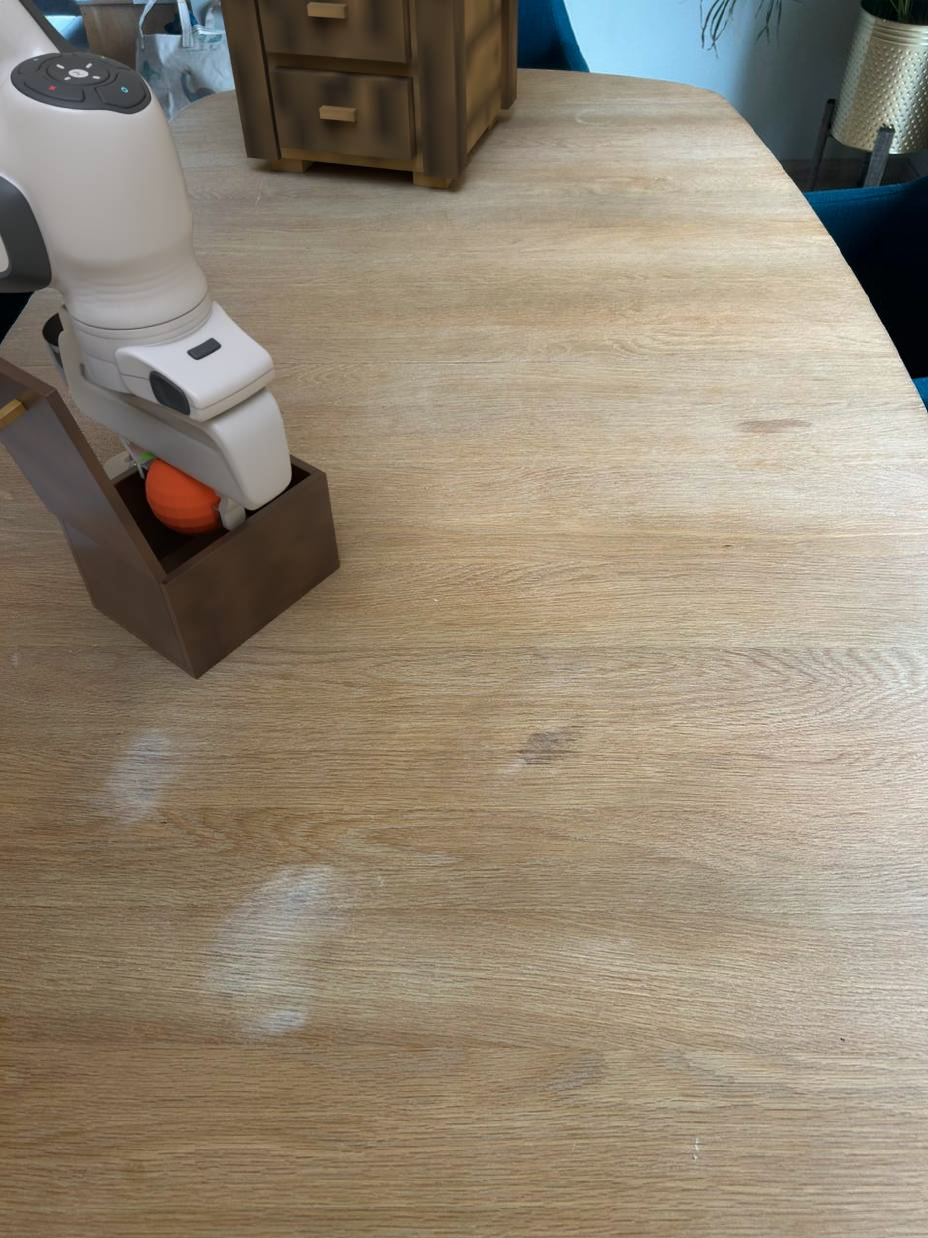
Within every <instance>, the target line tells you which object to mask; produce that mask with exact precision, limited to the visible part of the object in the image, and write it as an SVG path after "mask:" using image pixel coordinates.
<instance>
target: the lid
mask: <svg viewBox="0 0 928 1238" xmlns="http://www.w3.org/2000/svg"><path fill="white" fill-rule="evenodd" d="M0 443H1V444H2V445H3V447H4V448H5V450H6V451H7V453H8V455H10V457H11V459H12V460H13V462H14V464H16V466H17V467H18V469H19V470H20V471H21V473H22V474H23V476H24V478H25V479H26V480H27V482H28V483H29V484H30V487H31V488H32V490H34V492H35V493H36V495H37V496H38V498H39V500H40V501H41V502H42V503H43V505H44V506H45V508H46V509H47V511H48V512H49V513H50V514H52V515H54V516H55V517H56V518H57V517H58V518H60V519H61V520H63V521H64V522H66V523H67V524H69V525H70V526H72V527H73V528H75V529H76V530H78V531H79V532H81V533H82V534H84V535H86V536H87V537H89V538H90V539H92V540H93V541H95V542H96V543H98V544H99V545H101V546H102V547H104V548H105V549H107V550H108V551H110V552H111V553H113V554H114V555H116V556H117V557H119V558H120V559H122V560H123V561H125V562H126V563H128V564H129V565H131V566H132V567H134V568H135V569H137V570H139V571H140V572H142V573H143V574H145V575H146V576H148V577H149V578H151V579H152V580H154V581H155V582H157V583H158V584H160V583H162V582H163V581H164V580H165V579H166V578H167V575H166V573H165V571H164V570H163V568H162V566H161V565H160V563H159V561H158V560H157V558H156V556H155V554H154V553H153V551H152V549H151V548H150V546H149V544H148V543H147V541H146V539H145V538H144V536H143V534H142V533H141V531H140V529H139V527H138V526H137V524H136V522H135V521H134V519H133V517H132V516H131V514H130V512H129V511H128V509H127V507H126V506H125V504H124V502H123V500H122V499H121V497H120V495H119V494H118V492H117V490H116V489H115V487H114V485H113V484H112V482H111V480H110V479H109V477H108V475H107V473H106V472H105V470H104V468H103V465H102V462H100V460H99V458H98V456H97V455H96V453H95V452H94V450H93V448H92V446H91V444H90V443H89V441H88V440H87V438H86V437H85V435H84V433H83V431H82V430H81V428H80V426H79V424H78V423H77V421H76V419H75V418H74V416H73V415H72V413H71V411H70V410H69V408H68V406H67V404H66V403H65V401H64V400H63V397H62V396H61V393H59V391H58V389H57V388H56V387H54V386H52V385H51V384H49V383H47V382H45V381H44V380H41V379H39V378H38V377H36V376H34V375H33V374H31V373H30V372H27V371H26V370H24V369H22V368H21V367H19V366H17V365H15V364H14V363H12V362H9V361H8V360H6V359H5V358H3V357H1V356H0ZM58 518H57V519H58Z"/></svg>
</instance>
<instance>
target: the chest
mask: <svg viewBox="0 0 928 1238" xmlns="http://www.w3.org/2000/svg"><path fill="white" fill-rule="evenodd" d="M289 456H290V463H291V481H290V483H289V484H288V486H287V487H286V488H285V490H284V491H282V492H281V493H280V494H279V495H277V496H276V497H275V498H273V499H272V500H270V501H269V502H267V503H266V504H264V505H263V506H261V507H259V508H258V509H255V510H248V509H246V508H244V510H245V514H246V519H245V521H244V522H242V523H241V524H240V525H238V526H237V527H235V528H234V529H232V530H228V529H226V528H225V527H222V528H220V529H218V530H216V531H214V532H211V533H208V534H203V535H186V534H181V533H179V532H177V531H174V530H172V529H170V528H168V527H166V526H165V525H164V524H163V523H162V522H161V521H160V520H159V519H158V518H157V517H156V516H155V515H154V513H153V511H152V509H151V507H150V505H149V503H148V501H147V496H146V480H144V479H142V478H141V476H140V473H139V470H138V467H137V465H136V469H135V472H134V468H135V465H134V466H132V467H131V468H129V469H127V470H126V471H124V472H123V473H121V474H119V475H118V476H116V477H114V478H113V479H111V482H112V484H113V485H114V487H115V489H116V490H117V492H118V494H119V495H120V497H121V499H122V500H123V502H124V504H125V506H126V507H127V509H128V511H129V512H130V514H131V516H132V517H133V519H134V521H135V522H136V524H137V526H138V527H139V529H140V531H141V533H142V534H143V536H144V538H145V539H146V541H147V543H148V544H149V546H150V548H151V549H152V551H153V553H154V554H155V556H156V558H157V560H158V561H159V563H160V565H161V566H162V568H163V570H164V571H165V573H166V575H167V578H166V579H165V580H164V581H163V582H162V583H160V584H158V583H157V582H155V581H154V580H152V579H151V578H149V577H148V576H146V575H145V574H143V573H142V572H140V571H139V570H137V569H135V568H134V567H132V566H131V565H129V564H128V563H126V562H125V561H123V560H122V559H120V558H119V557H117V556H116V555H114V554H113V553H111V552H110V551H108V550H107V549H105V548H104V547H102V546H101V545H99V544H98V543H96V542H95V541H93V540H92V539H90V538H89V537H87V536H86V535H84V534H82V533H81V532H79V531H78V530H76V529H75V528H73V527H72V526H70V525H69V524H67V523H66V522H64V521H63V520H61V519H60V518H58V517H57V516H56V518H57V520H58V522H59V525H60V528H61V530H62V532H63V535H64V537H65V539H66V542H67V545H68V547H69V549H70V552H71V554H72V557H73V560H74V562H75V564H76V566H77V569H78V572H79V574H80V577H81V580H82V582H83V584H84V586H85V588H86V592H87V593H88V596H89V599H90V601H91V603H92V605H93V607H94V608H95V609H97V611H99V612H100V613H102V614H104V615H105V616H106V617H108V618H109V619H111V620H112V621H113V622H114V623H116V624H118V625H119V626H121V627H122V628H124V629H125V630H126V631H127V632H129V633H130V634H132V635H133V636H134V637H136V638H137V639H139V640H140V641H141V642H143V643H144V644H146V645H147V646H148V647H150V648H151V649H153V650H154V651H156V652H157V653H159V654H160V655H161V656H163V658H166V659H167V660H168V661H170V662H171V663H173V664H174V665H176V666H177V667H178V668H180V669H181V670H183V671H184V672H185V673H187V674H188V675H190V676H191V677H192V678H194V679H195V680H197V679H199V678H200V677H201V676H202V675H204V674H205V673H206V672H208V671H209V670H210V669H211V668H213V667H214V666H216V664H218V663H219V662H221V661H222V660H223V659H224V658H225V657H227V656H228V655H230V653H232V652H233V651H234V650H236V649H237V648H239V646H241V645H243V644H244V643H245V642H246V641H247V640H248V639H250V638H251V637H252V636H254V635H255V634H256V633H258V632H259V631H260V630H261V629H263V628H264V627H266V625H268V624H269V623H270V622H272V620H274V619H275V618H276V617H278V616H279V615H281V614H282V613H283V612H285V610H287V609H288V608H289V607H290V606H292V605H293V604H295V603H296V602H297V601H298V600H300V599H301V598H302V597H303V596H305V595H306V594H307V593H308V592H310V591H312V589H314V588H315V587H316V586H318V585H319V584H320V583H322V581H324V580H325V579H327V578H328V577H329V576H330V575H331V574H333V573H334V572H335V571H337V570H338V569H339V568H340V567H341V563H340V557H339V556H340V555H339V550H338V543H337V537H336V530H335V525H334V523H335V522H334V517H333V510H332V504H331V495H330V489H329V482H328V477H327V472H325V471H323V470H321V469H320V468H317V467H316V466H313V465H312V464H310V463H308V462H306V461H304V460H303V459H300V458H298V457H297V456H294V455H293V454H290V453H289Z"/></svg>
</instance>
